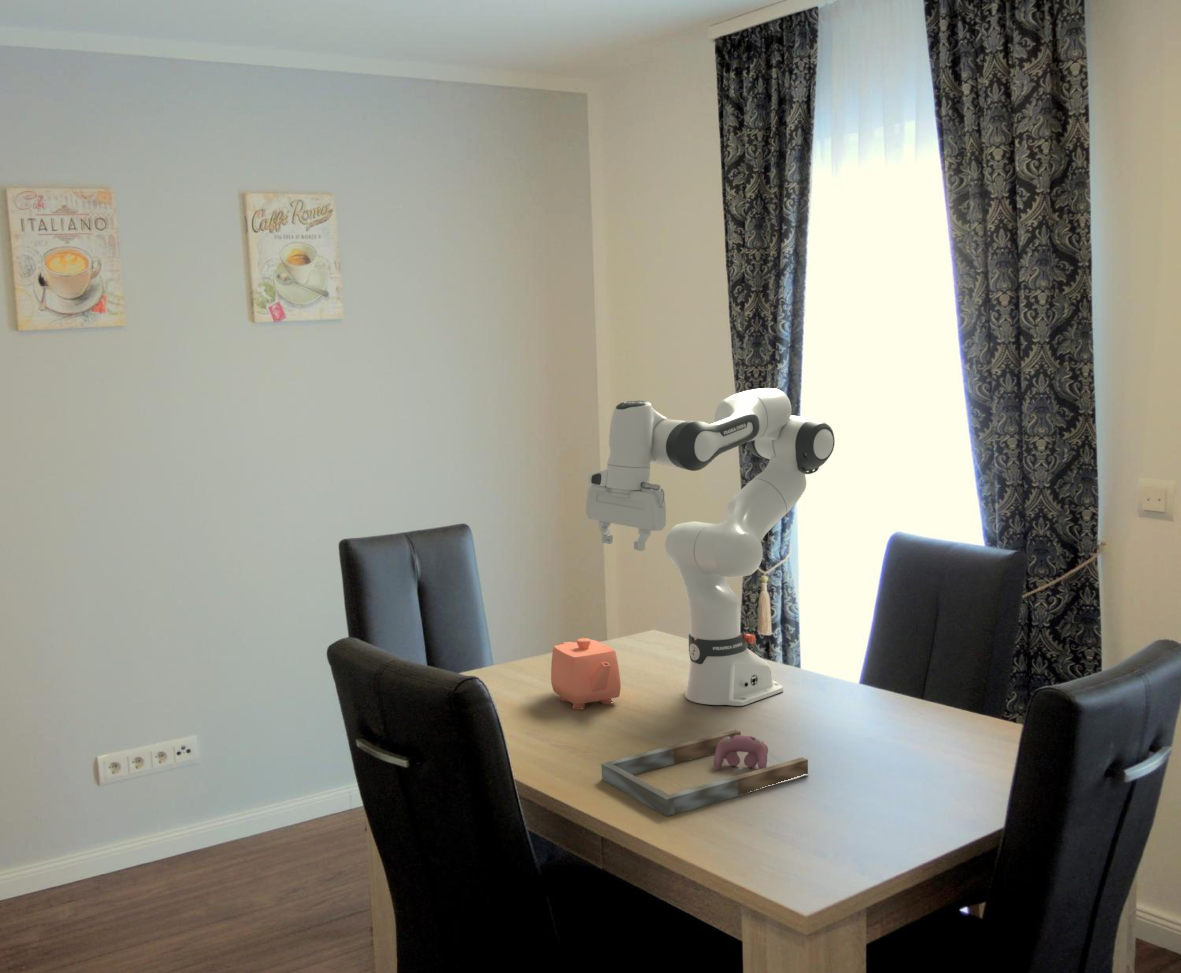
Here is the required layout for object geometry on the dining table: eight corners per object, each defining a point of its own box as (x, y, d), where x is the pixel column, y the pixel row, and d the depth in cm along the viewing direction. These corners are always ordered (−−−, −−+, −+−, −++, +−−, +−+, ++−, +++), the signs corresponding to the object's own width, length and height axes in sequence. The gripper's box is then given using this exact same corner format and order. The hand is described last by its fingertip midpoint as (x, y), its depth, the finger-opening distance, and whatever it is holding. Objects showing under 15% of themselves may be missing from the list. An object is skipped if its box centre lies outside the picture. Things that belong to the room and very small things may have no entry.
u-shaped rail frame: (736, 744, 227) (735, 729, 226) (808, 775, 209) (807, 759, 208) (601, 779, 211) (601, 763, 211) (667, 816, 193) (666, 799, 193)
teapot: (634, 709, 251) (632, 646, 250) (581, 719, 246) (578, 655, 244) (592, 684, 271) (589, 626, 269) (542, 693, 266) (539, 633, 264)
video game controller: (768, 776, 213) (770, 738, 216) (764, 773, 209) (766, 734, 211) (716, 772, 217) (719, 734, 219) (711, 769, 212) (714, 731, 215)
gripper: (675, 485, 230) (670, 553, 231) (604, 474, 245) (600, 539, 246) (653, 485, 226) (648, 555, 227) (583, 474, 241) (578, 540, 242)
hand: (622, 546), depth 237 cm, fingers open, 8 cm apart
